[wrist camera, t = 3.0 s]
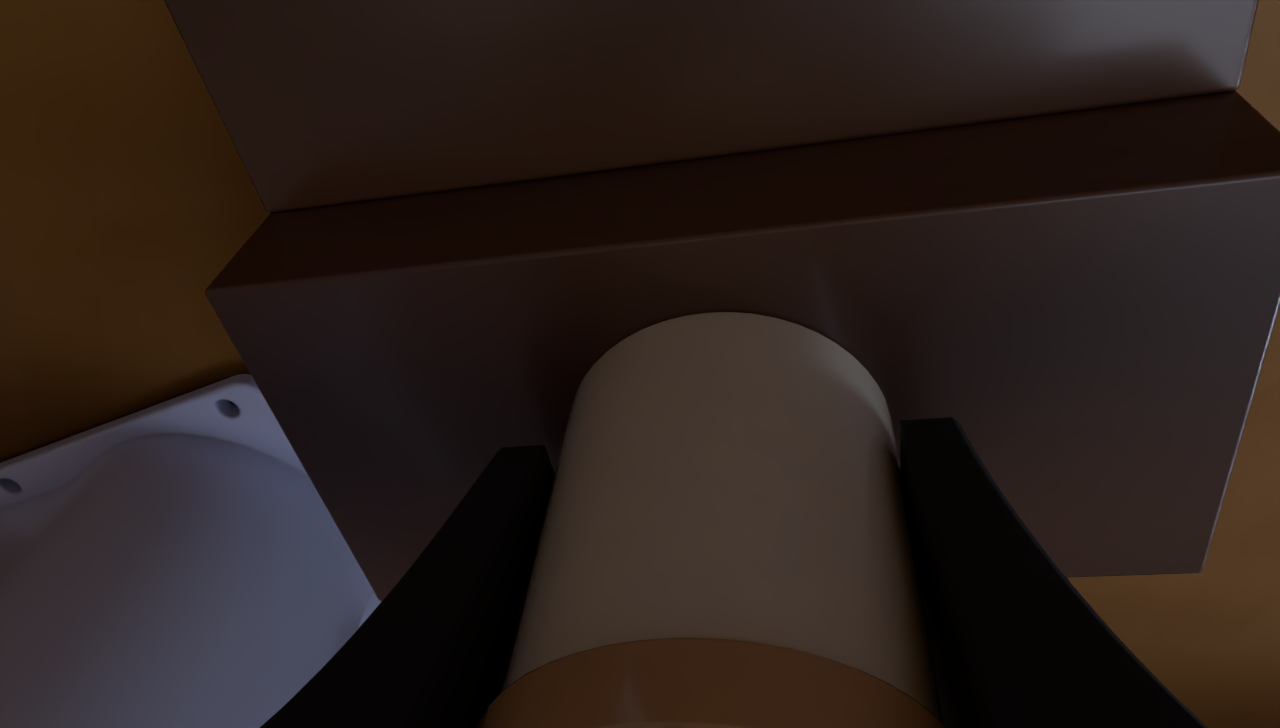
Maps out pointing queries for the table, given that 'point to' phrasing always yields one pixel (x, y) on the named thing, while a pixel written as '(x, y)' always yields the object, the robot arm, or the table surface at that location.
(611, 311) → the step shelf
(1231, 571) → the table surface
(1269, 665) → the table surface
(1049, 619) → the robot arm
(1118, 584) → the table surface
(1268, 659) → the table surface
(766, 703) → the jar
